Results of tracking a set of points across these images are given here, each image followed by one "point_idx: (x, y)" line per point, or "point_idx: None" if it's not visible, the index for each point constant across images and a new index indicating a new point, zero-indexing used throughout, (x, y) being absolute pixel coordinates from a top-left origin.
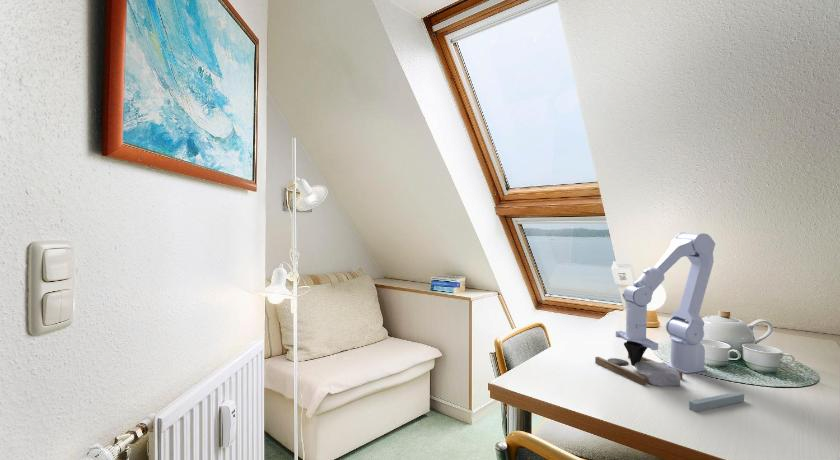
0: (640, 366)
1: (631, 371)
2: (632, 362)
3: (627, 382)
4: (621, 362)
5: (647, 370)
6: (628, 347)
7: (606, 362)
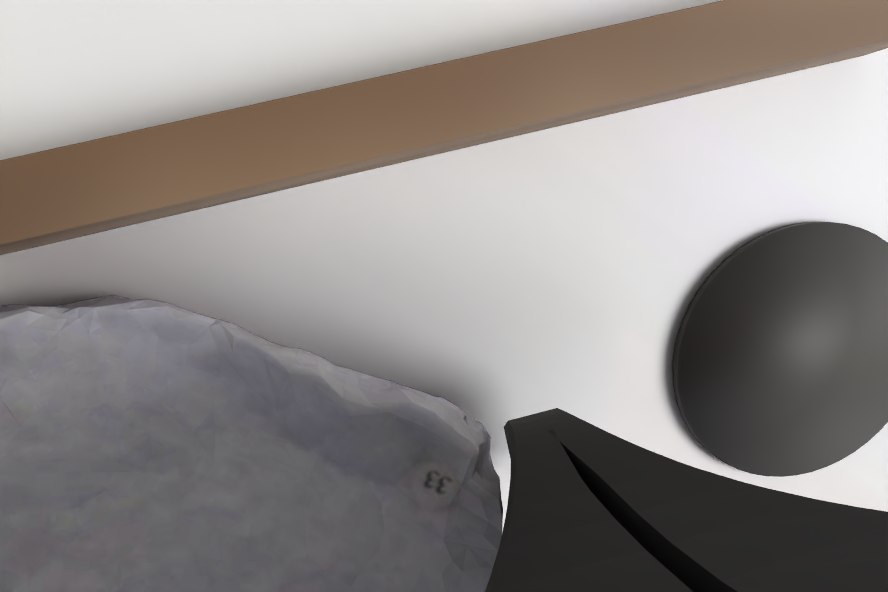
0: (337, 450)
1: (191, 185)
2: (543, 428)
3: (56, 11)
4: (767, 386)
5: (82, 444)
6: (792, 576)
7: (699, 9)
